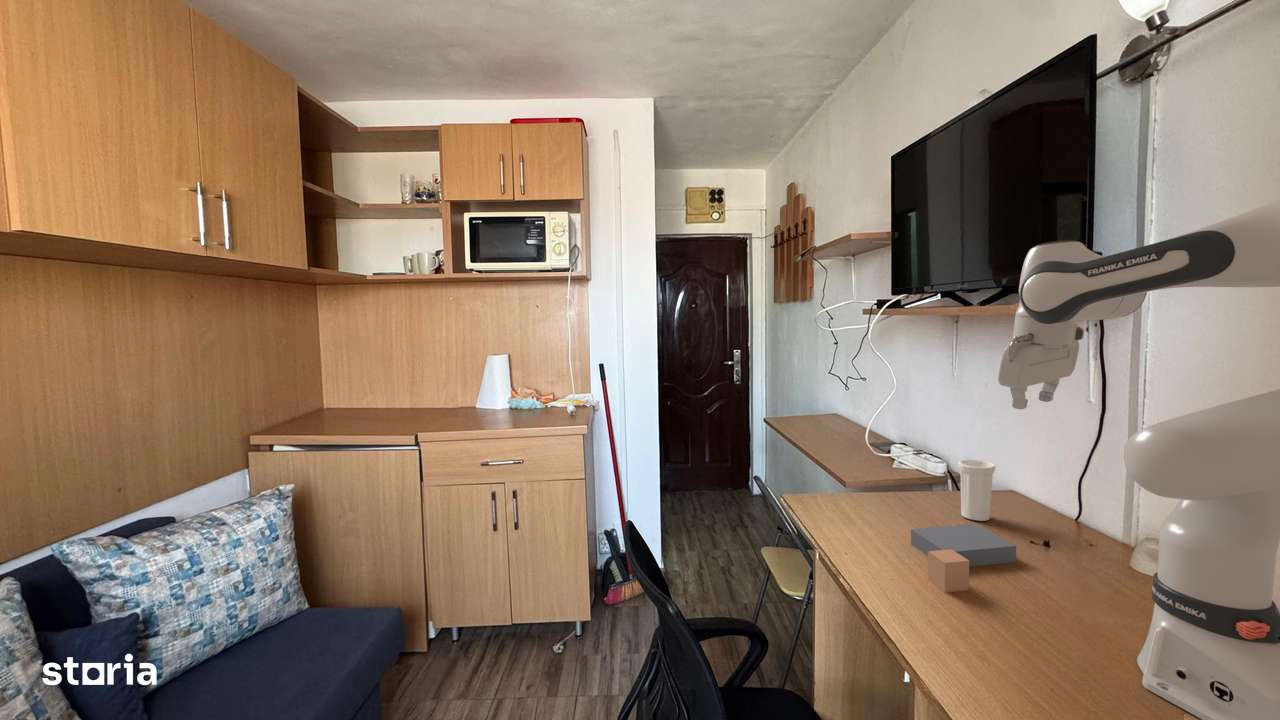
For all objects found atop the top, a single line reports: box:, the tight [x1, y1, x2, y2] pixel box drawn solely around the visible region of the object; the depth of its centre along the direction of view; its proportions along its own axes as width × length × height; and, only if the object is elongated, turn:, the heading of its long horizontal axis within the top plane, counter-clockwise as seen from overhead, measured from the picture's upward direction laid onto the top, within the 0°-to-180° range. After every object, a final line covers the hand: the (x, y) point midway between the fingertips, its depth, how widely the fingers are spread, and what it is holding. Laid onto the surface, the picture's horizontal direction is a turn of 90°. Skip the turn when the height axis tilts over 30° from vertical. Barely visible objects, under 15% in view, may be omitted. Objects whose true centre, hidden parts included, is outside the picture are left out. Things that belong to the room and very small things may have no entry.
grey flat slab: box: [910, 523, 1017, 568], centre depth 118 cm, size 12×16×4 cm
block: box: [927, 549, 970, 593], centre depth 105 cm, size 5×5×6 cm
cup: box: [957, 458, 996, 522], centre depth 136 cm, size 8×8×14 cm
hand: (1032, 404), depth 100 cm, fingers open, 8 cm apart
